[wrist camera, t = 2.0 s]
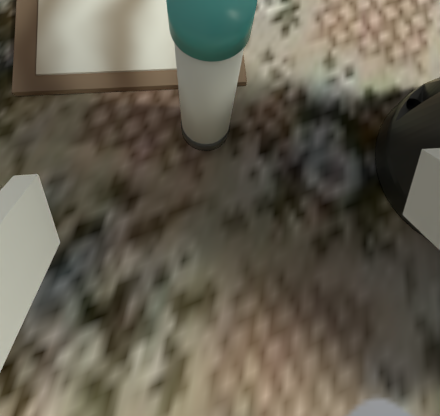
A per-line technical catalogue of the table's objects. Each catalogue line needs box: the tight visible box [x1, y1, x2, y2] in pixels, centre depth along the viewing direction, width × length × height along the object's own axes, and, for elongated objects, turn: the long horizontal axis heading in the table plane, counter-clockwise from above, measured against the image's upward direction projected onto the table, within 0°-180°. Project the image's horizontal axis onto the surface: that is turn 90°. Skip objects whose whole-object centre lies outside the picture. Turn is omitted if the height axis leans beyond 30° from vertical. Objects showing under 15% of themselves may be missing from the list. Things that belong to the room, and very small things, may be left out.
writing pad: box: [12, 0, 247, 96], centre depth 32 cm, size 20×16×1 cm
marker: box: [166, 0, 257, 151], centre depth 24 cm, size 4×4×14 cm
